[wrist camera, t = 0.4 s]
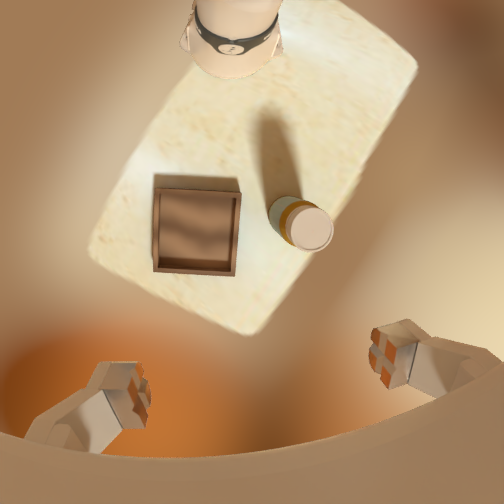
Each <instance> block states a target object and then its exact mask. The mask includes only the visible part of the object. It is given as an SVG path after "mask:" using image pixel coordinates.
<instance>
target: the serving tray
mask: <svg viewBox="0 0 504 504" xmlns="http://www.w3.org/2000/svg"><path fill="white" fill-rule="evenodd" d="M241 196H242V193H240V192H226V191H211V190H193V189H172V188H156V189H155V201H154V232H153V272H162V273H178V274H195V275H213V276H233V277H235V269H236V256H237V244H238V231H239V219H240V208H241Z"/></svg>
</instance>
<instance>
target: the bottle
mask: <svg viewBox="0 0 504 504" xmlns="http://www.w3.org/2000/svg"><path fill="white" fill-rule="evenodd" d="M269 221H270V224H271V226H272V227H273V229H274V230H275V231H276V232H277V233H278V234H279V235H280V236H281V237H282V238H283V239H284V240H285V241H287V242H288V243H289V244H291V245H293V246H295V247H297V248H298V249H300V250H302V251H304V252H317V251H320V250H322V249H323V248H325V247H326V246H327V245H328V244H329V242H330V241H331V239H332V236H333V230H334V227H333V222H332V220H331V218H330V216H329V215H328V214H327V213H326V212H325V211H324V210H322V209H320V208H319V207H317V206H316V205H315V204H313V203H311V202H308V201H305V200H302V199H299V198H296V197H292V196H284V197H281V198H279V199H277V200H276V201H275V202H274V203H273V204H272V205H271V207H270V210H269Z"/></svg>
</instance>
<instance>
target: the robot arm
mask: <svg viewBox="0 0 504 504" xmlns="http://www.w3.org/2000/svg"><path fill="white" fill-rule="evenodd" d="M282 1H283V0H194V2H193V5H192V9H193V10H194V12H193V14H190V16H189V22H188V24H187V27H186V29H185V31H184V33H183V35H182V38H181V40H180V47H181V48H182V49H183V50H185V51H186V52H188V53H189V54H191V55H192V57H193V58H194V60H195V62H196V63H197V64H198V66H199V67H200V68H201V69H203V70H204V71H205V72H207V73H208V74H210V75H213V76H215V77H219V78H224V79H238V78H243V77H247V76H249V75H252V74H254V73H255V72H257V71H258V70H260V69H261V68H262V67H263V66H264V65H265V64H266V63H267V62H268V61H270V60H272V59H275V58H277V57H279V56H281V55H282V52H283V47H282V40H281V34H280V28H279V23H278V10H279V8H280V6H281V4H282ZM186 38H187V39H186ZM276 46H277V47H276ZM371 340H372V341H373V344H372V346H371V347H370V348H369V363H370V365H371V368H372V369H373V370H374V372H376V373H378V374H381V377H380V380H381V381H382V382H383V384H384V385H385V386H386V388H387V389H388V390H390V389H393V388H396V387H399V386H402V385H405V384H408V385H410V386H412V387H414V388H416V389H418V390H420V391H422V392H424V393H426V394H428V395H430V396H432V397H435V398H437V399H435V400H433V401H431V402H428V403H426V404H424V405H422V406H419V407H417V408H415V409H412V410H410V411H408V412H405V413H403V414H400V415H397V416H395V417H392V418H390V419H387V420H384V421H381V422H378V423H375V424H373V425H370V426H366V427H363V428H360V429H357V430H354V431H350V432H347V433H343V434H340V435H336V436H332V437H328V438H325V439H320V440H317V441H312V442H308V443H303V444H298V445H293V446H288V447H283V448H278V449H271V450H265V451H259V452H251V453H243V454H234V455H225V456H212V457H193V458H145V457H128V456H115V455H105V454H100V453H101V452H102V451H103V450H104V448H106V447H107V446H108V445H109V444H110V442H111V441H112V440H113V439H114V438H115V437H116V436H117V435H118V434H119V433H120V432H121V431H122V429H145V428H146V423H147V418H148V414H147V412H146V409H147V408H149V407H150V404H151V391H150V386H149V383H148V381H147V380H146V379H144V378H143V374H144V370H143V367H142V364H141V363H140V362H138V361H137V362H136V361H135V362H100V363H98V365H97V367H96V369H95V371H94V373H93V374H92V377H91V378H90V380H89V382H88V384H87V386H86V388H85V389H80V390H79V391H77V392H76V393H74V394H73V395H71V396H70V397H68V398H66V399H65V400H63V401H62V402H60V403H58V404H57V405H56V406H54V407H52V408H51V409H49V410H47V411H46V412H44V413H43V414H41V415H39V416H38V417H36V418H35V419H34V421H33V423H32V425H31V426H30V428H29V430H28V432H27V434H26V435H25V438H24V439H21V438H18V437H14V436H11V435H8V434H4V433H1V432H0V504H504V362H502V361H501V360H500V359H498V358H497V357H496V356H495V355H493V354H492V353H491V352H490V351H488V350H487V349H485V348H481V347H476V346H472V345H468V344H464V343H459V342H455V341H451V340H447V339H443V338H439V337H431V336H429V335H428V334H427V333H426V332H425V331H424V330H422V329H421V328H420V327H418V326H417V325H416V324H415V323H414V322H413V321H411V320H410V319H404V320H401V321H398V322H396V323H392V324H389V325H385V326H381V327H377V328H373V330H372V332H371Z"/></svg>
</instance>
